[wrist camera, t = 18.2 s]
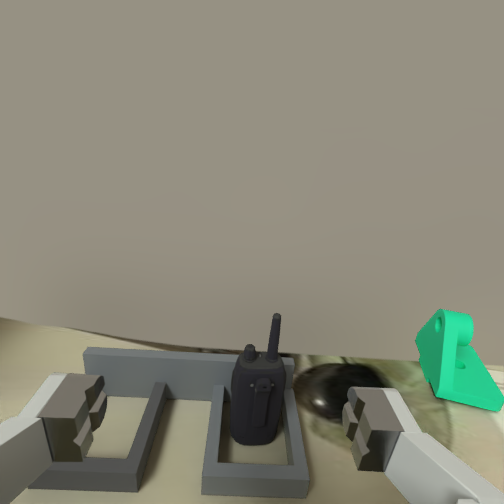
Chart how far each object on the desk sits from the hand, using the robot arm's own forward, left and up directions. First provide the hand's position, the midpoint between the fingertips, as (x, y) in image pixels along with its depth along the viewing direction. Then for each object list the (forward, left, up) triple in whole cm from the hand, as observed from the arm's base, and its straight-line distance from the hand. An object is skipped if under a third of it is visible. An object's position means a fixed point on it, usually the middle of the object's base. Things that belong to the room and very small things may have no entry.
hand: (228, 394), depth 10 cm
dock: (-5, +15, -22) cm, 27 cm away
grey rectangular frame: (-12, +15, -22) cm, 30 cm away
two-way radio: (+3, +15, -22) cm, 27 cm away
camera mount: (+32, +26, -23) cm, 47 cm away
